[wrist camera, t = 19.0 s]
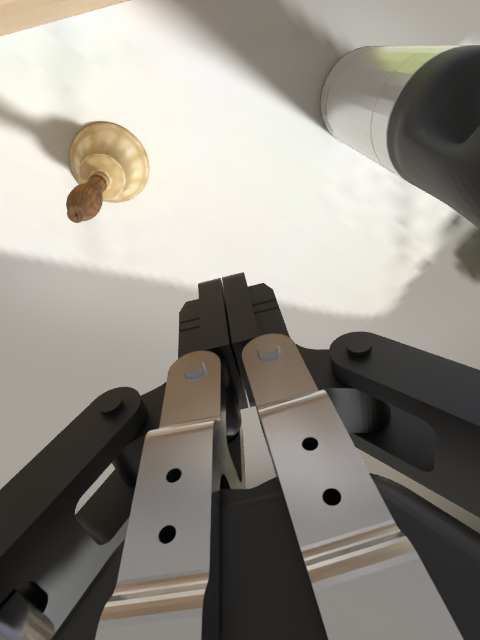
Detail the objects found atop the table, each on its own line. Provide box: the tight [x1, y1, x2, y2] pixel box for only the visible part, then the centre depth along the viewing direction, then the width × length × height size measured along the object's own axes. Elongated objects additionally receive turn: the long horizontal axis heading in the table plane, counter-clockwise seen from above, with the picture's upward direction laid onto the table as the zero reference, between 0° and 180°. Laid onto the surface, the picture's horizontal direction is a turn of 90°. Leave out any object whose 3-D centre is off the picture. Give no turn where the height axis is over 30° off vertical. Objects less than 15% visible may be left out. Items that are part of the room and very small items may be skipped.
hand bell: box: [66, 123, 149, 223], centre depth 38 cm, size 8×8×16 cm
